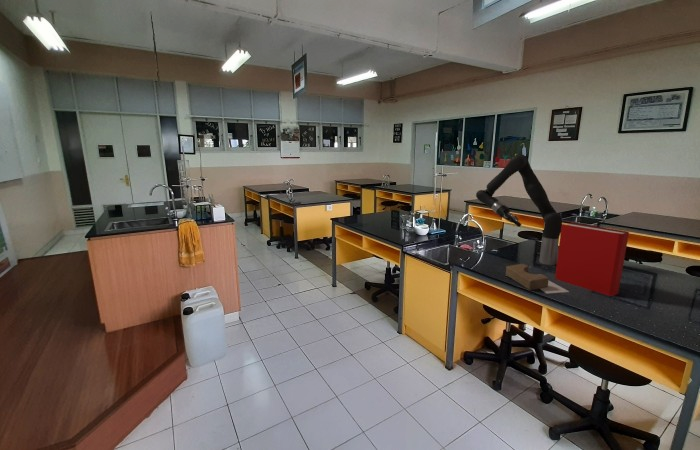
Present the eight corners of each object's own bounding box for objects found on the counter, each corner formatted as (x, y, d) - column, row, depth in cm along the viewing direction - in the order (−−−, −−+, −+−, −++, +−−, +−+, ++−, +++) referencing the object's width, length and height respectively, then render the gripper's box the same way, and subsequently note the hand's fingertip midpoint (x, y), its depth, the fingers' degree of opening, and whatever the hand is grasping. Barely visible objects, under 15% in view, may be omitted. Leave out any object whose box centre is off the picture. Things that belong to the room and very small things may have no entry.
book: (554, 278, 182) (561, 224, 175) (562, 276, 186) (569, 222, 179) (612, 296, 159) (622, 234, 152) (619, 292, 163) (630, 231, 156)
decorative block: (523, 263, 186) (549, 277, 167) (522, 272, 188) (548, 287, 169) (505, 265, 185) (530, 280, 166) (505, 274, 186) (529, 290, 167)
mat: (540, 276, 186) (540, 274, 185) (569, 292, 164) (569, 289, 164) (520, 277, 185) (521, 275, 184) (547, 293, 163) (547, 291, 163)
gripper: (498, 203, 208) (518, 220, 197) (509, 205, 216) (529, 221, 204) (491, 213, 212) (510, 229, 201) (502, 214, 219) (521, 230, 208)
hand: (520, 225), depth 202 cm, fingers closed
